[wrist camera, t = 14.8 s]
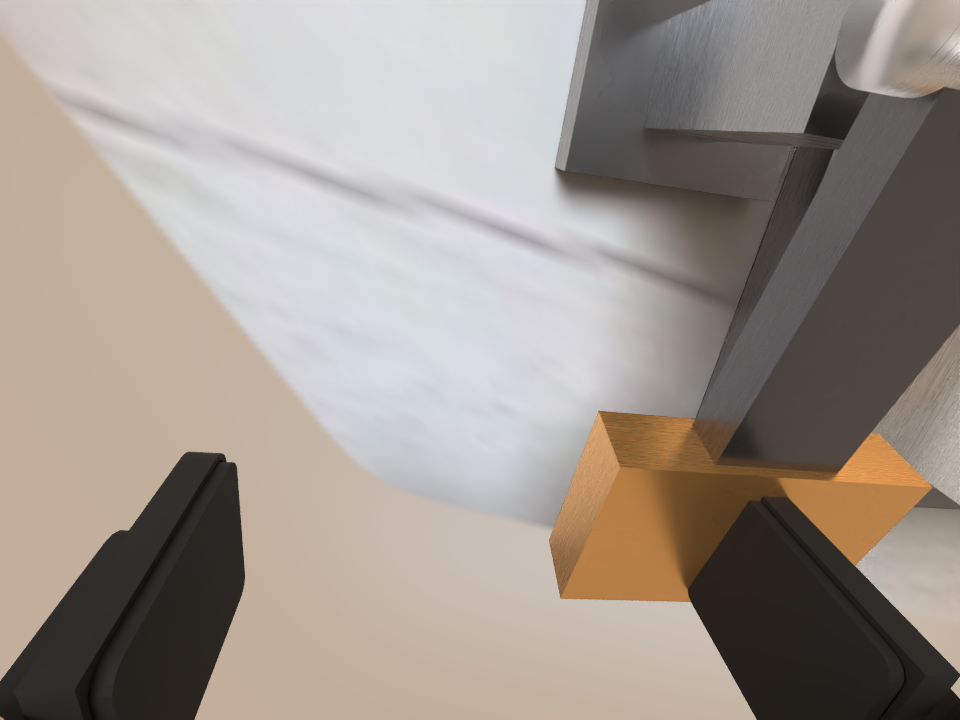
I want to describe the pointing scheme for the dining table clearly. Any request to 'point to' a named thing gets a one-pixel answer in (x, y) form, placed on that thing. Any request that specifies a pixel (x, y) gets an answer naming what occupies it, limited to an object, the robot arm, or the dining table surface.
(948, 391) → the block
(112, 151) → the dining table surface
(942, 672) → the robot arm
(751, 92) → the press bed
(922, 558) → the dining table surface
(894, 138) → the press lever
